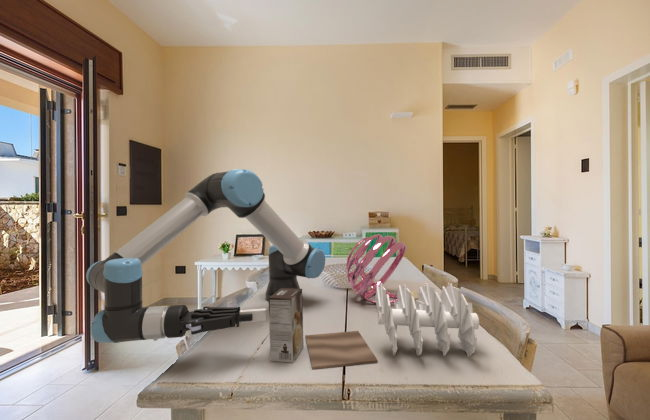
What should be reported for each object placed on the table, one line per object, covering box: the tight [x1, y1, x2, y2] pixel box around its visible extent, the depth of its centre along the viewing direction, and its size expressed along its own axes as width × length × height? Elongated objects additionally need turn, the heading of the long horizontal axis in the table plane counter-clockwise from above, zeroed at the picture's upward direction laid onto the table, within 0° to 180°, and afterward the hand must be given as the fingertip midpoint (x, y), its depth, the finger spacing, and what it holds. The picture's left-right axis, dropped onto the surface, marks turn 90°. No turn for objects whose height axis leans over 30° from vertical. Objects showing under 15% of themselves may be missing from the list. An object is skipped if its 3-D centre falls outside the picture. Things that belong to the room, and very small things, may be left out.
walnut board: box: [305, 330, 379, 370], centre depth 81 cm, size 18×16×1 cm
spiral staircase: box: [375, 282, 480, 358], centre depth 78 cm, size 18×18×25 cm
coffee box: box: [268, 288, 304, 364], centre depth 79 cm, size 9×6×16 cm
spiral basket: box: [345, 233, 407, 305], centre depth 123 cm, size 28×28×27 cm
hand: (266, 314), depth 77 cm, fingers closed
